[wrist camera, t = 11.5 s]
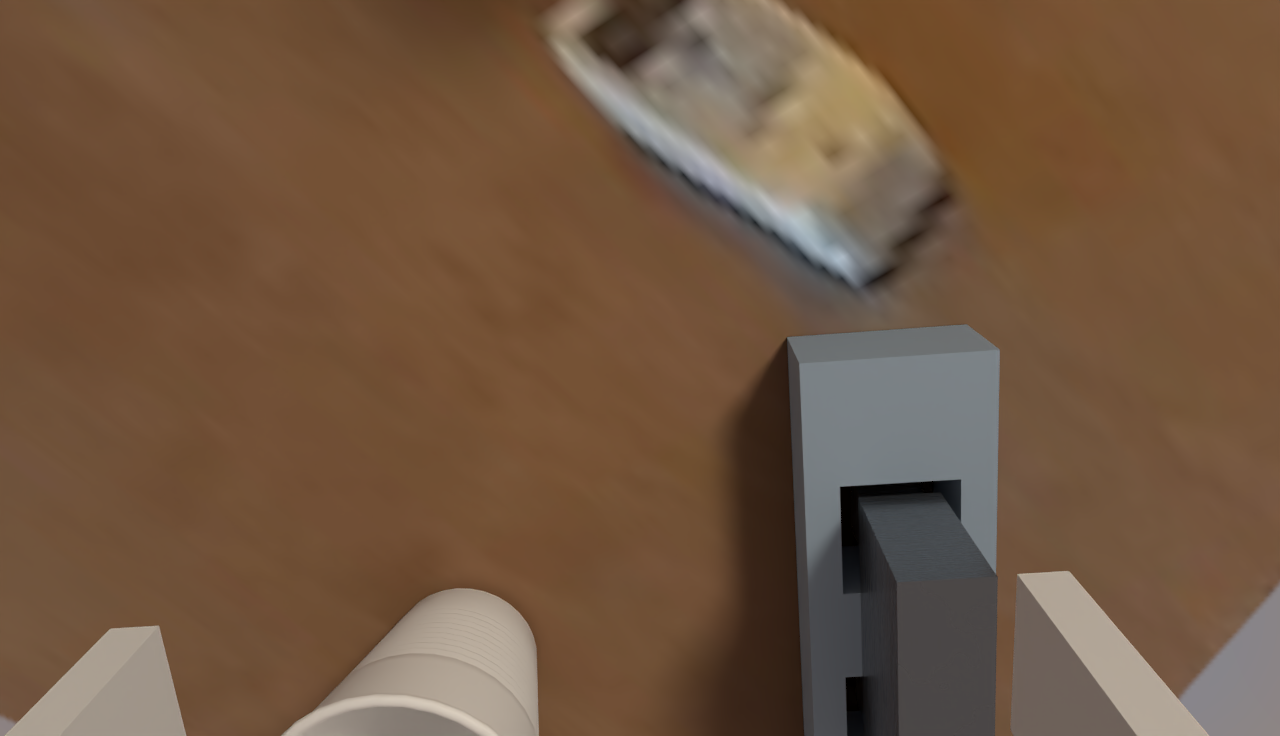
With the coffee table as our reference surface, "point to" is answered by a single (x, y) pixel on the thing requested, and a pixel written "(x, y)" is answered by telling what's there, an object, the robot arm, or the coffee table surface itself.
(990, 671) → the clip
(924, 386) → the grey block with hole
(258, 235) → the coffee table surface
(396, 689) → the cup
